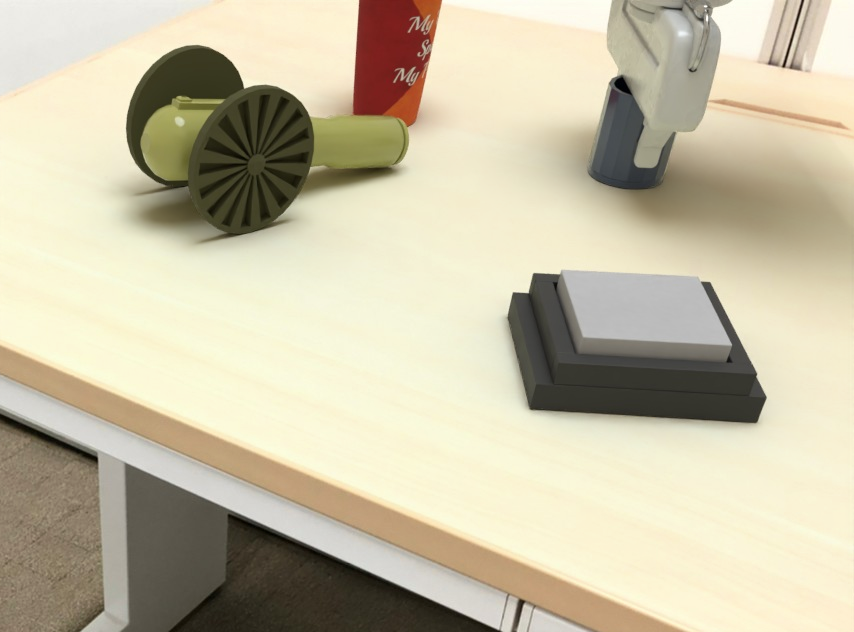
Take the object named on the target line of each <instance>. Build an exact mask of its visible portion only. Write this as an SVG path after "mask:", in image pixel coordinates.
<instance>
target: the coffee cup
mask: <svg viewBox="0 0 854 632" xmlns="http://www.w3.org/2000/svg"><path fill="white" fill-rule="evenodd" d="M442 4H443V0H358V8H357V9H358V11H357V14H358V15H357V26H356V43H355V59H354V60H355V62H354V76H353V77H354V79H353V95H352V96H353V97H352V115H390V116H393V117H397V118H400V119H401V120H403V121H404V123H405V124H406V126H407V127H409V126H411V125H413V124H414V123H415V122H416V121H417V118H418V114H419V111H420V110H419V109H420V106H421V101H422V98H423V93H424V89H425V83H426V79H427V74H428V70H429V65H430V62H431V61H430V60H431V56H432V51H433V46H434V41H435V37H436V32H437V27H438V23H439V18H440V14H441V7H442Z"/></svg>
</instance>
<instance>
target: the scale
mask: <svg viewBox="0 0 854 632" xmlns="http://www.w3.org/2000/svg"><path fill="white" fill-rule="evenodd" d="M559 277H560V273H546V272H545V273H541V272H533V273H532V276H531V281H530V285H529V288H528V292H519V291H518V292H517V291H516V292H515V291H512V294H511V298H510V302H509V306H508V307H509V308H508V312H507V319H508V324H509V328H510V330H511V335H512V339H513V343H514V348H515V353H516V357H517V360H518V365H519V368H520V374H521V377H522V382H523V385H524V389H525V393H526V397H527V402H528V406H529V410H530V409H531V410H542V411H543V410H545V411H546V410H547V411H560V412H561V411H562V412H575V413H577V412H578V413H592V414H593V413H594V414H610V415H626V416H627V415H628V416H643V417H644V416H645V417H661V418H675V419H678V418H679V419H693V420H694V419H695V420H709V421H726V422H742V423H758V421H759V419H760V416H761V414H762V411H763V408H764V406H765V404H766V401H767V399H768V396H767V395H766V392H765V391H764V389H763V387H762V385H761V383H760V381H759V379H758V372H757V370H756V368H755V366H754V364H753V363H752V361H751V359H750V357H749V355H748V353H747V351H746V349H745V347H744V345H743V344H742V343H743V342H742V341H741V339H740V337H739V335H738V333H737V331H736V329H735V328H734V325H733V323H732V321H731V320H730V318H729V315H728V314H727V312H726V310H725V308H724V306H723V304H722V302H721V300H720V298H719V296H718V294H717V293H716V290H715V289H714V286H713V284H712V283H711V281H703V280H702V281H701V280H700V281H701V283H702V285H703V287H704V289H705V291H706V293H707V295H708V297H709V299H710V301H711V304H712V306H713V308H714V310H715V312H716V314H717V316H718V318H719V320H720V322H721V324H722V326H723V328H724V330H725V332H726V334H727V336H728V338H729V340H730V342H731V344H732V347H731V350H730V353H729V356H728V358H727V361H726V362H708V361H691V360H673V359H655V358H638V357H620V356H602V355H585V354H575V352H574V349H573V346H572V343H571V339H570V336H569V333H568V330H567V326H566V323H565V320H564V317H563V314H562V310H561V307H560V304H559V301H558V297H557V294H556V289H557V285H558V281H559Z"/></svg>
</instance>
